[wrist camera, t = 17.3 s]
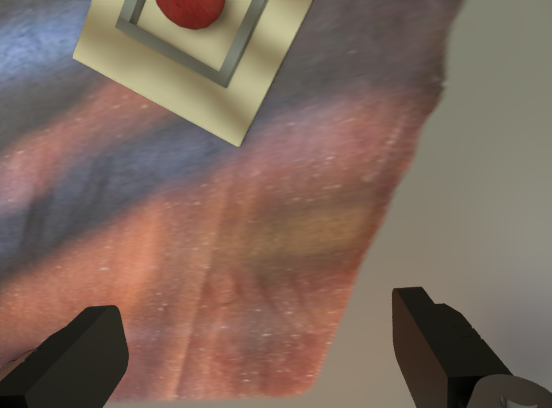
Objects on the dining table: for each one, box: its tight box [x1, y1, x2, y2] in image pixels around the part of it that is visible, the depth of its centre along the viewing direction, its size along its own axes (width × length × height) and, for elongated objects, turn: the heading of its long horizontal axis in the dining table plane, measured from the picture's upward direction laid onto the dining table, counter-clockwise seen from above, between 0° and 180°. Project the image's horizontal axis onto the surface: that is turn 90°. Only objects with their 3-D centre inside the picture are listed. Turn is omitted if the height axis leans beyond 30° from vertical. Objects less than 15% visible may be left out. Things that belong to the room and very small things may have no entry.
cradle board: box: [72, 0, 314, 147], centre depth 32 cm, size 20×18×2 cm
